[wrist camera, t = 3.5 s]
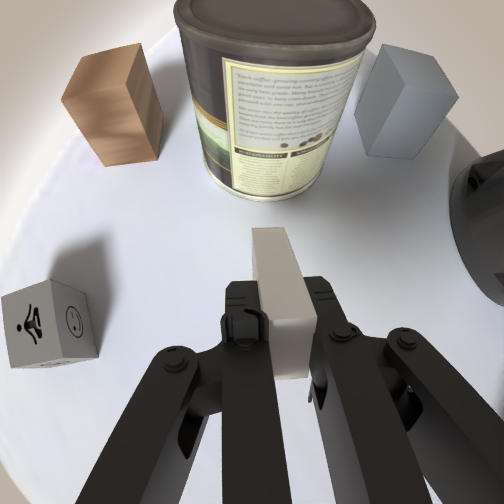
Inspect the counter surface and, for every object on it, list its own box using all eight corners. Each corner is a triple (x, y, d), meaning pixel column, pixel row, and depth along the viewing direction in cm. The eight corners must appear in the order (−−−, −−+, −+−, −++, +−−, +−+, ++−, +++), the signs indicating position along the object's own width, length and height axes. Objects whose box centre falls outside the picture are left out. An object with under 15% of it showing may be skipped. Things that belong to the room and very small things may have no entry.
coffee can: (178, 169, 24) (130, 22, 11) (242, 93, 27) (240, -38, 13) (292, 227, 23) (343, 79, 9) (341, 136, 25) (391, 4, 12)
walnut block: (163, 117, 26) (140, 42, 17) (157, 160, 24) (125, 84, 16) (115, 124, 26) (81, 57, 17) (105, 166, 24) (60, 99, 16)
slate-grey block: (398, 119, 26) (433, 56, 18) (413, 159, 25) (458, 97, 16) (354, 114, 26) (382, 43, 18) (366, 155, 25) (405, 84, 16)
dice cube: (99, 357, 19) (63, 358, 15) (50, 367, 19) (11, 368, 14) (85, 293, 21) (50, 279, 16) (39, 308, 20) (1, 296, 16)
